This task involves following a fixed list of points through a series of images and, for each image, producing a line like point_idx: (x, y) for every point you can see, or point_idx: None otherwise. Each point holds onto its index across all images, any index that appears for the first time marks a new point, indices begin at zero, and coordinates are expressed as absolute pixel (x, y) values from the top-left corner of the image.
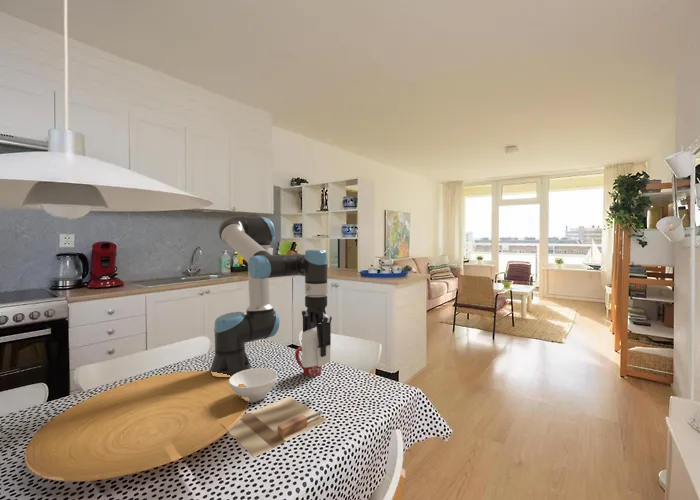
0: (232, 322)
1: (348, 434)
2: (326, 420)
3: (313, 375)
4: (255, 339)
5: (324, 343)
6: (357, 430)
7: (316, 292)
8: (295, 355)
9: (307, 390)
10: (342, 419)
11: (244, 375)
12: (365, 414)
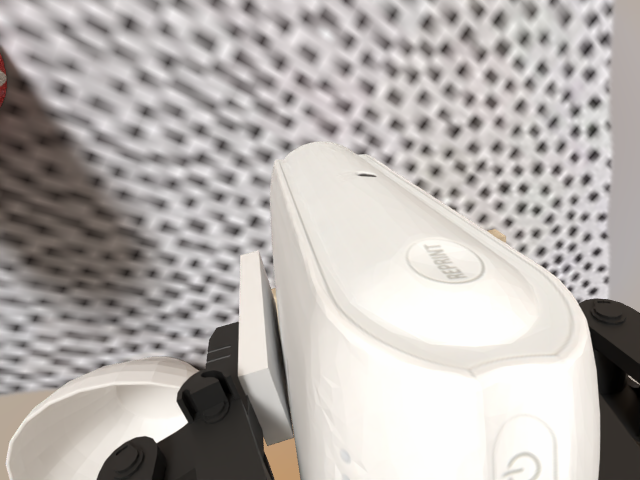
0: None
1: (578, 193)
2: (505, 240)
3: (4, 84)
4: None
5: (625, 401)
6: (587, 156)
7: None
8: None
9: (199, 193)
10: (504, 167)
11: (44, 472)
12: (546, 62)
